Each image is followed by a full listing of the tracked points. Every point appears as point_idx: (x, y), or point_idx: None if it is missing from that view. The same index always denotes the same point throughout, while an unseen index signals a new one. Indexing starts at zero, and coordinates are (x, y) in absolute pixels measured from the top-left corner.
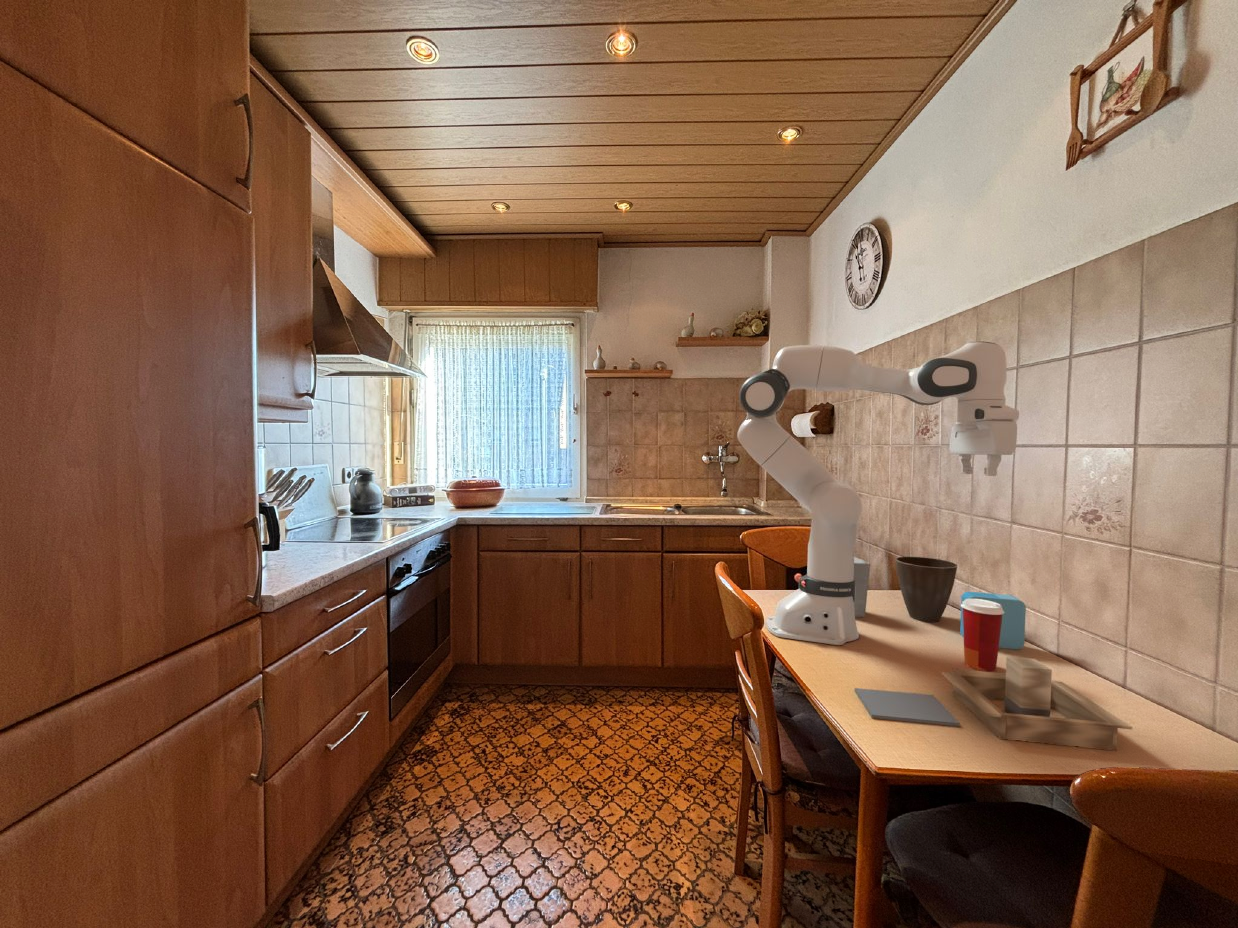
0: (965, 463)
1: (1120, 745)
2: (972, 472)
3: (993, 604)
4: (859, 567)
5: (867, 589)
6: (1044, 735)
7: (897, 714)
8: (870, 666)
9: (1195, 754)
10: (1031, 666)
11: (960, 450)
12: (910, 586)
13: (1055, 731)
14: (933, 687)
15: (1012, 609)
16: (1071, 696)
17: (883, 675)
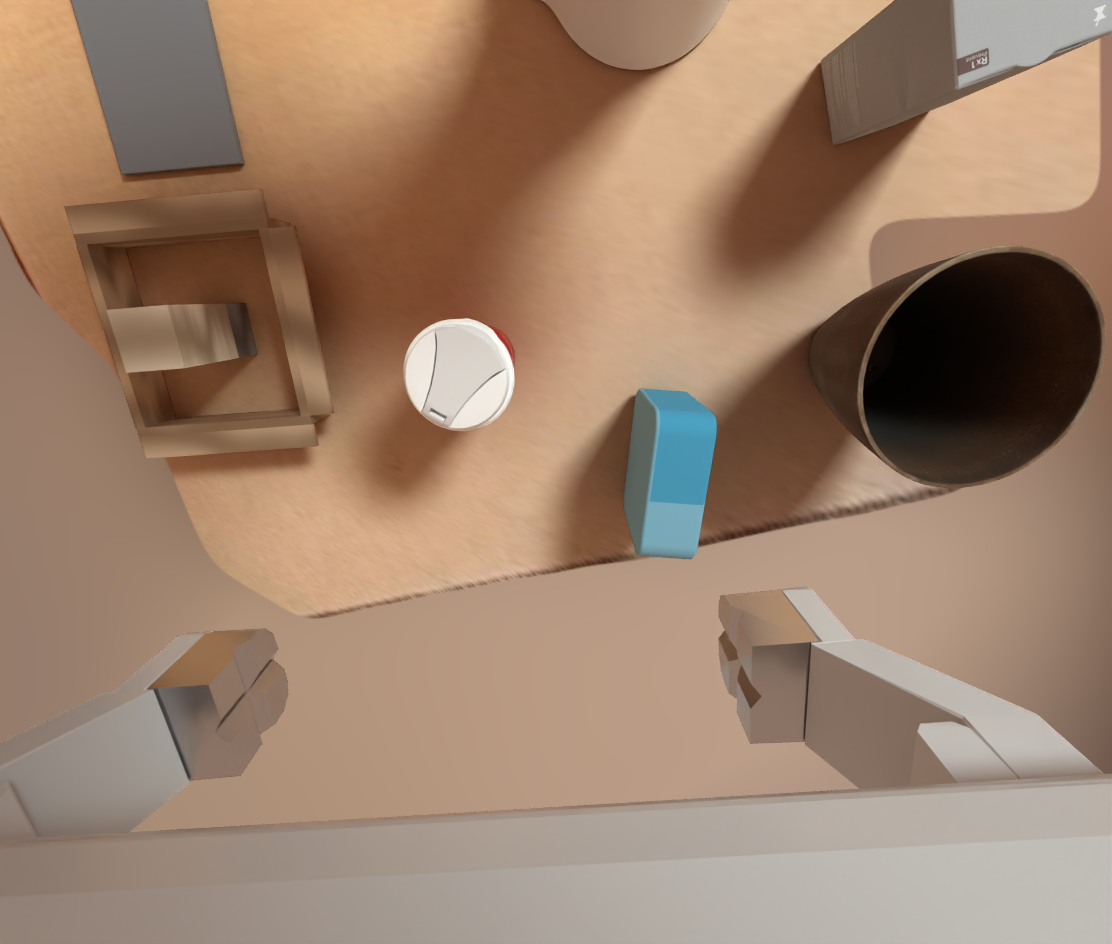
0: (862, 717)
1: None
2: (725, 680)
3: (448, 407)
4: (937, 33)
5: (885, 121)
6: None
7: (92, 34)
8: (381, 47)
9: (216, 537)
10: (125, 335)
11: (985, 862)
12: (871, 292)
13: None
14: (307, 188)
15: (638, 519)
16: (242, 425)
17: (331, 71)
